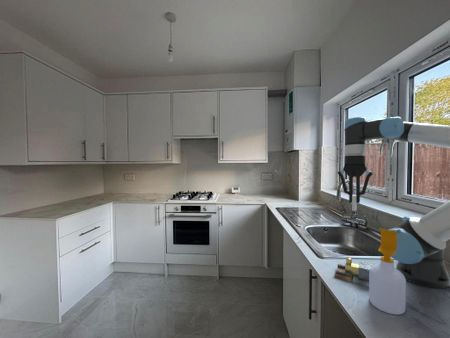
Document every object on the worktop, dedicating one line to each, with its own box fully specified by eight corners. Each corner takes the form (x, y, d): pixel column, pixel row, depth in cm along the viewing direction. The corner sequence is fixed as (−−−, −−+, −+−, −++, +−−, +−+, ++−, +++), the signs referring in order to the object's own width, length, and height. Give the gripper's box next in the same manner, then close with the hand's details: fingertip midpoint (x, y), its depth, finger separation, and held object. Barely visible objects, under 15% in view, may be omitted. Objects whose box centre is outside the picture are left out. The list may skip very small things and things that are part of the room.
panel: (376, 277, 82) (376, 274, 82) (376, 289, 74) (376, 285, 74) (338, 267, 89) (338, 264, 89) (334, 277, 82) (334, 274, 82)
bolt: (366, 274, 81) (367, 260, 81) (366, 277, 79) (366, 264, 78) (346, 268, 85) (346, 256, 85) (345, 272, 83) (345, 259, 82)
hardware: (376, 275, 81) (376, 264, 80) (376, 284, 75) (376, 271, 75) (337, 266, 88) (337, 255, 88) (335, 272, 83) (335, 261, 83)
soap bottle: (366, 305, 66) (367, 228, 65) (372, 292, 73) (373, 222, 72) (403, 320, 60) (404, 235, 59) (406, 304, 66) (407, 228, 65)
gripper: (373, 154, 88) (373, 210, 89) (338, 155, 95) (338, 206, 96) (373, 154, 82) (372, 214, 83) (336, 155, 89) (335, 210, 90)
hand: (354, 210), depth 89 cm, fingers closed
